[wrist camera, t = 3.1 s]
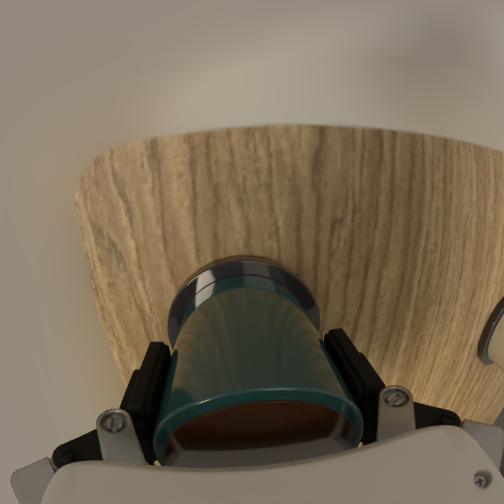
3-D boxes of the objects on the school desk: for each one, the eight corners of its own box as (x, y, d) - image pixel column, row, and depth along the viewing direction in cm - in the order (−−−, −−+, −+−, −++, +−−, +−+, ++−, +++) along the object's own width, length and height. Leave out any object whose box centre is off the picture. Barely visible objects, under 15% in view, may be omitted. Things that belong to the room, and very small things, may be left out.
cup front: (171, 278, 13) (121, 391, 5) (310, 270, 13) (390, 368, 6) (197, 413, 15) (192, 516, 8) (300, 405, 16) (331, 502, 8)
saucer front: (159, 260, 13) (155, 265, 12) (319, 250, 14) (325, 255, 13) (182, 383, 15) (181, 391, 15) (311, 373, 16) (314, 381, 15)
